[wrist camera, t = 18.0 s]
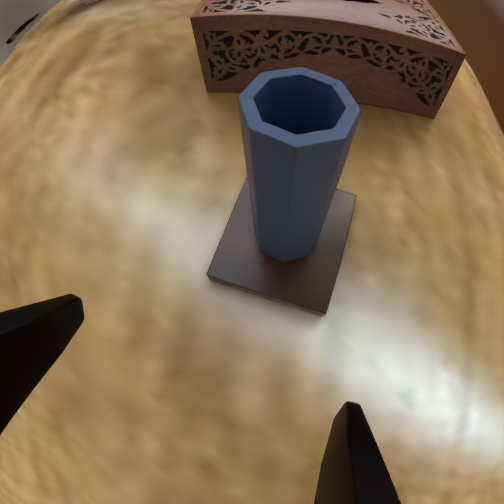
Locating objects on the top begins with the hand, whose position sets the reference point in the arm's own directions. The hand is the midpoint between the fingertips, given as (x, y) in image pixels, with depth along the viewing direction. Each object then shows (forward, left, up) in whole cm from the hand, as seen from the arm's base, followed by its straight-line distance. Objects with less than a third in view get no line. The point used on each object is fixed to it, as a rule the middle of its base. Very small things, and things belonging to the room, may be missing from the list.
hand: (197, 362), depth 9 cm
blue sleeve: (+10, -3, -12) cm, 16 cm away
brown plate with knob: (+10, -3, -14) cm, 17 cm away
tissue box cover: (+33, -7, -14) cm, 37 cm away
